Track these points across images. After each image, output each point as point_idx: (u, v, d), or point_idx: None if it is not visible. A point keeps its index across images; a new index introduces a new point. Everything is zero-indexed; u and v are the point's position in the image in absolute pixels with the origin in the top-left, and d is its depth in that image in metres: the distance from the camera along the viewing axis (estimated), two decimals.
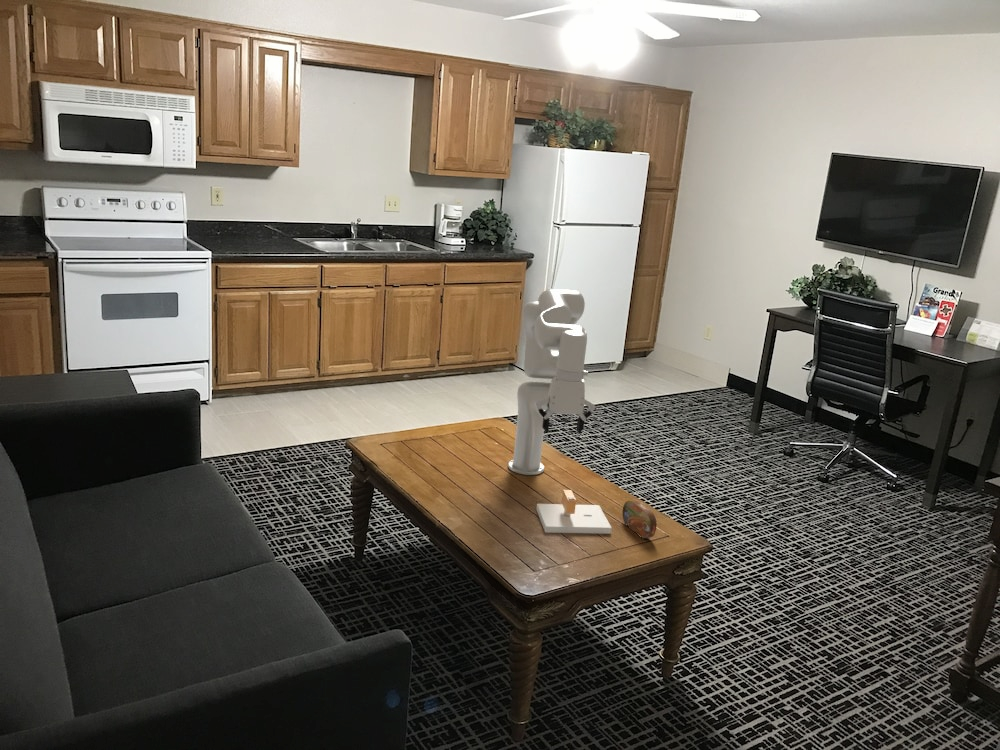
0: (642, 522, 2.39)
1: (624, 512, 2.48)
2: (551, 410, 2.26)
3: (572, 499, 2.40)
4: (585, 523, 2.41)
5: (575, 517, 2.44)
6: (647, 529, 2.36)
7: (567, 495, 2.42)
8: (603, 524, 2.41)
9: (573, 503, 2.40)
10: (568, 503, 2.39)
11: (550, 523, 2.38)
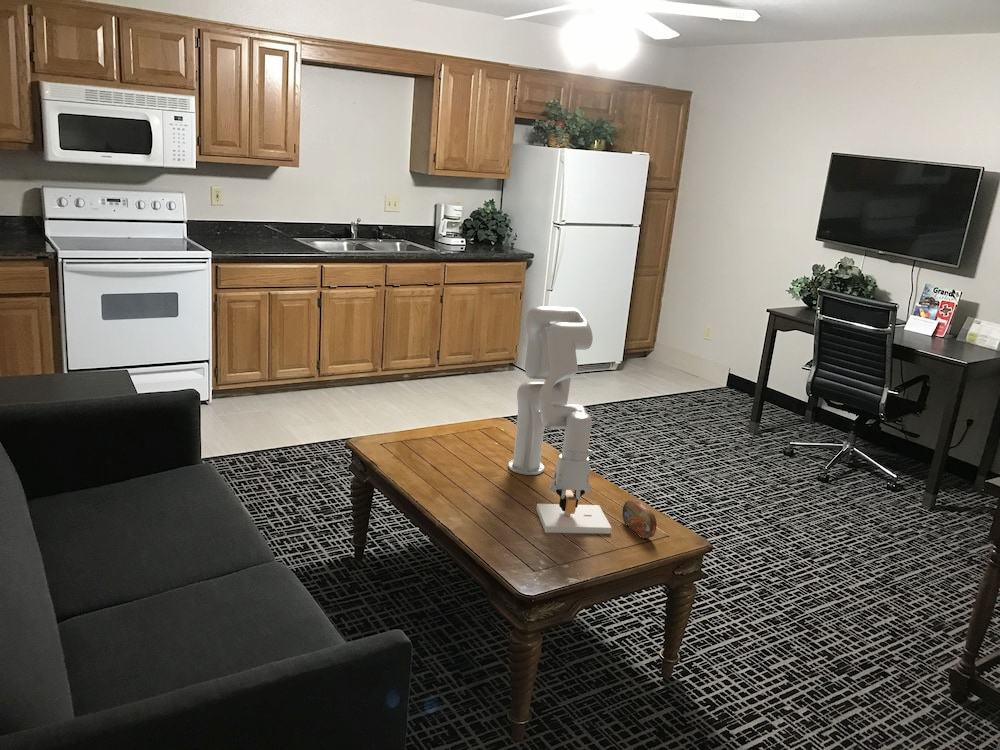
0: (642, 522, 2.39)
1: (624, 512, 2.48)
2: (558, 486, 2.39)
3: (572, 499, 2.40)
4: (585, 523, 2.41)
5: (575, 517, 2.44)
6: (647, 529, 2.36)
7: (567, 495, 2.42)
8: (603, 524, 2.41)
9: (573, 503, 2.40)
10: (568, 503, 2.39)
11: (550, 523, 2.38)
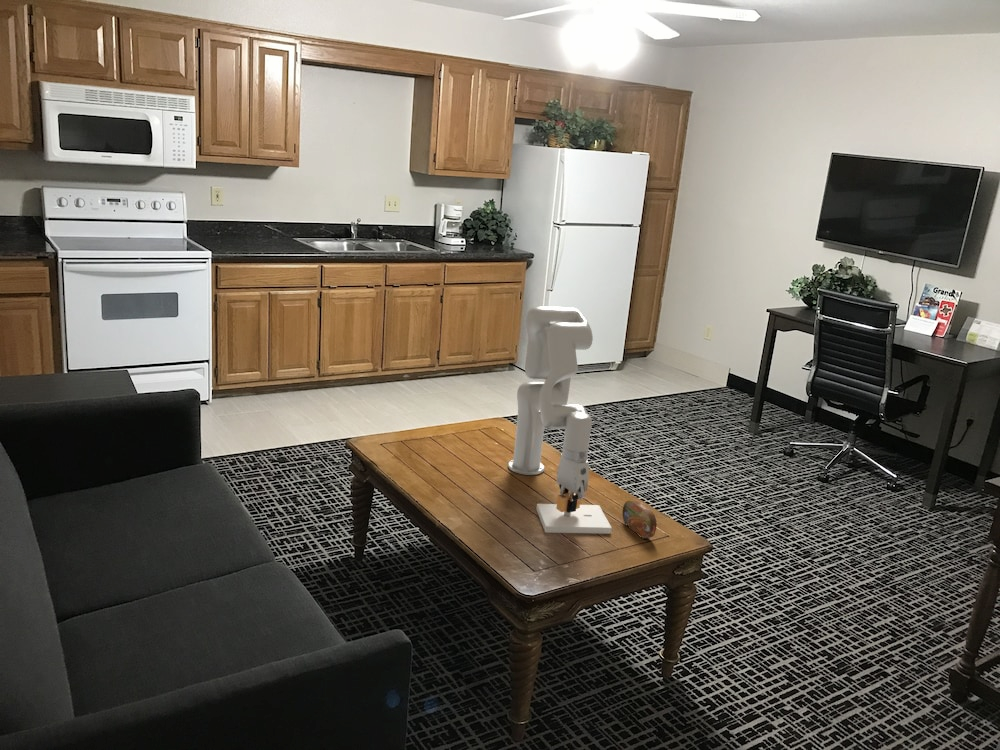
0: (642, 522, 2.39)
1: (624, 512, 2.48)
2: (557, 479, 2.44)
3: (561, 496, 2.41)
4: (585, 523, 2.41)
5: (575, 517, 2.44)
6: (647, 529, 2.36)
7: (566, 494, 2.43)
8: (603, 524, 2.41)
9: (561, 500, 2.40)
10: (558, 499, 2.42)
11: (550, 523, 2.38)
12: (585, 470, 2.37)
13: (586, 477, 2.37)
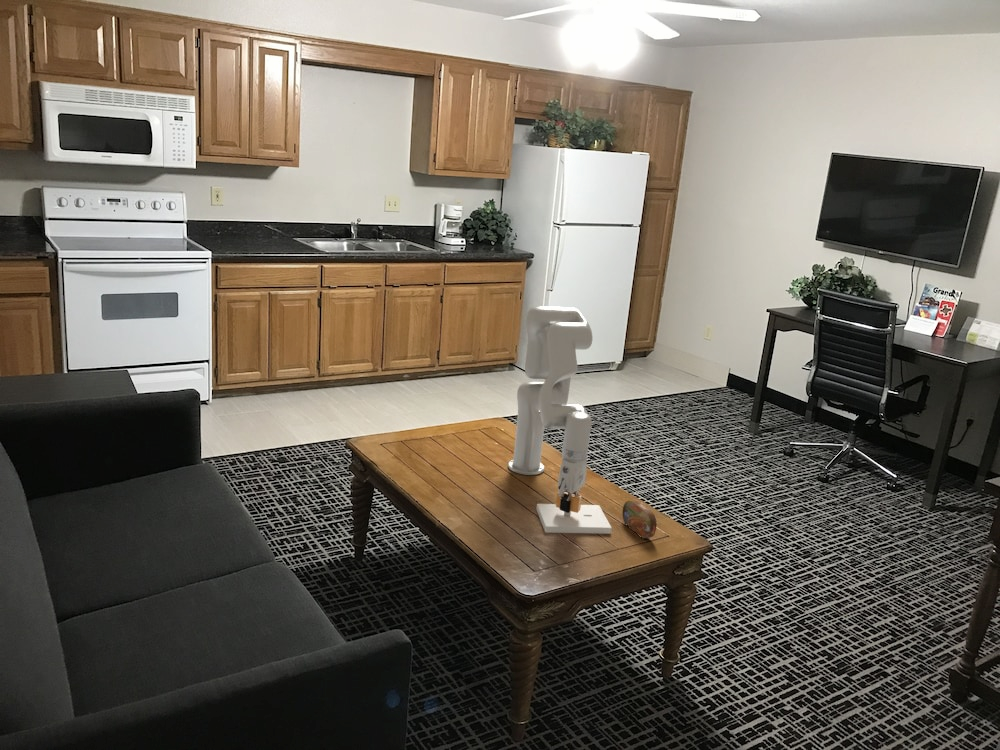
0: (642, 522, 2.39)
1: (624, 512, 2.48)
2: None
3: None
4: (585, 523, 2.41)
5: (575, 517, 2.44)
6: (647, 529, 2.36)
7: None
8: (603, 524, 2.41)
9: None
10: None
11: (550, 523, 2.38)
12: None
13: (568, 477, 2.36)
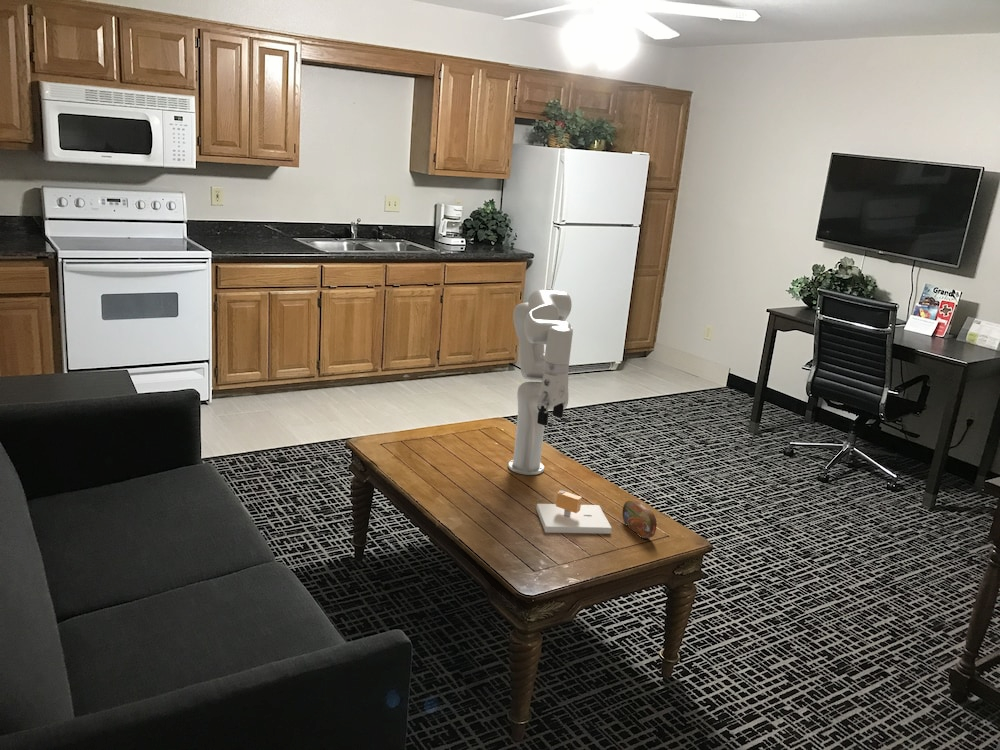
0: (642, 522, 2.39)
1: (624, 512, 2.48)
2: None
3: (560, 491, 2.44)
4: (585, 523, 2.41)
5: (575, 517, 2.44)
6: (647, 529, 2.36)
7: (569, 493, 2.43)
8: (603, 524, 2.41)
9: None
10: None
11: (550, 523, 2.38)
12: None
13: (549, 390, 2.39)
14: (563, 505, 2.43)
